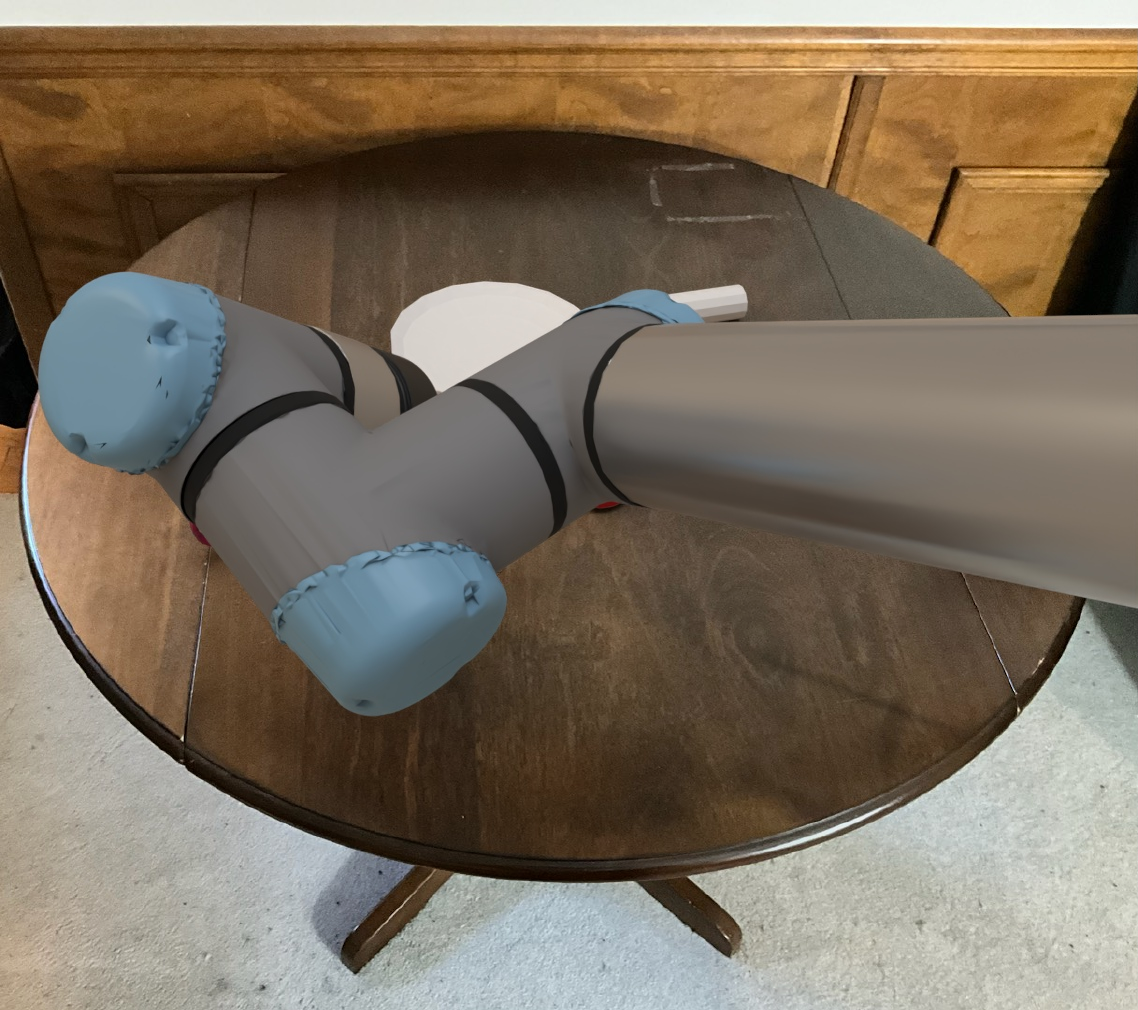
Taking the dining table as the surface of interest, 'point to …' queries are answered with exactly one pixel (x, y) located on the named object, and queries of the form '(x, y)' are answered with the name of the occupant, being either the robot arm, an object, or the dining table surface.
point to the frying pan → (507, 324)
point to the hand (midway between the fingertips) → (537, 458)
